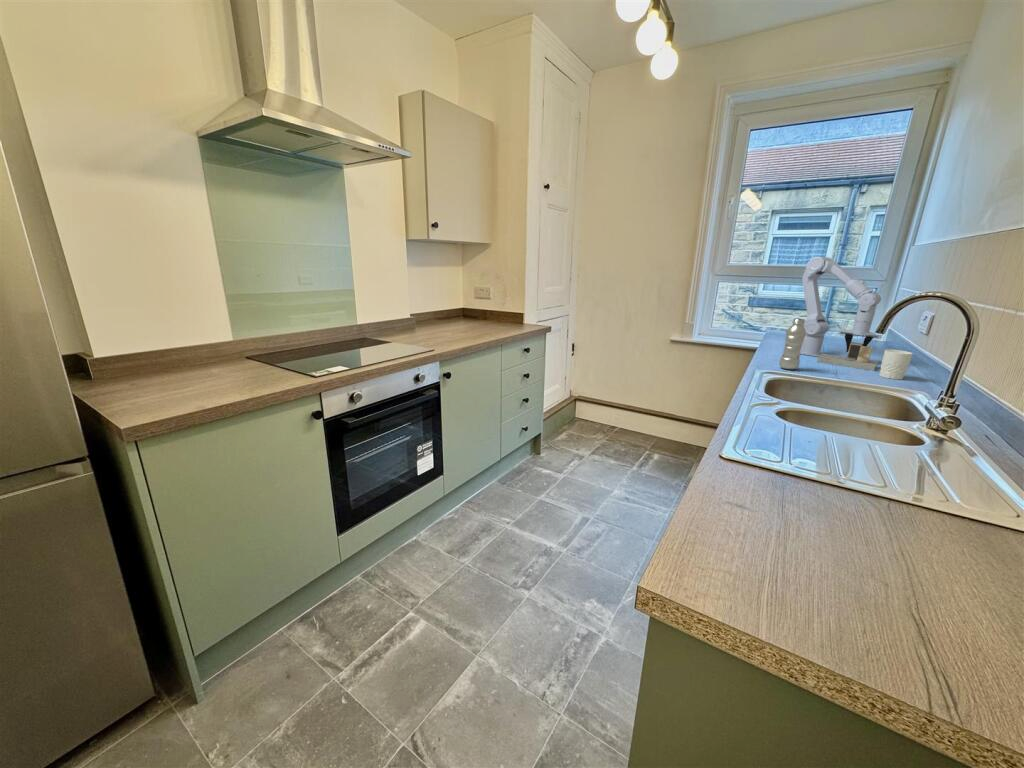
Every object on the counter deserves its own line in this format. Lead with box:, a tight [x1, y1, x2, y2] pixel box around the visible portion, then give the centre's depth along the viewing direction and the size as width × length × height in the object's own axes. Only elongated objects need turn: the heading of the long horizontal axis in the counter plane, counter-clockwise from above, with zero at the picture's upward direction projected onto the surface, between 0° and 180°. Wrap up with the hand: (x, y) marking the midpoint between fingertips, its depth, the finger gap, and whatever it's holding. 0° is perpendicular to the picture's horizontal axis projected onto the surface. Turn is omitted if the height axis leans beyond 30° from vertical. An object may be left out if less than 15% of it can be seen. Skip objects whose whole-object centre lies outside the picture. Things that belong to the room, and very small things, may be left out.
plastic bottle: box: [778, 317, 806, 370], centre depth 160 cm, size 6×7×20 cm
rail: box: [816, 353, 878, 372], centre depth 173 cm, size 19×8×3 cm, turn 45°
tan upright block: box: [855, 346, 873, 363], centre depth 168 cm, size 4×4×7 cm
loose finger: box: [846, 341, 863, 358], centre depth 177 cm, size 4×4×7 cm
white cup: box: [878, 349, 914, 380], centre depth 154 cm, size 8×8×10 cm
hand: (854, 352), depth 177 cm, fingers closed on loose finger, 4 cm apart
